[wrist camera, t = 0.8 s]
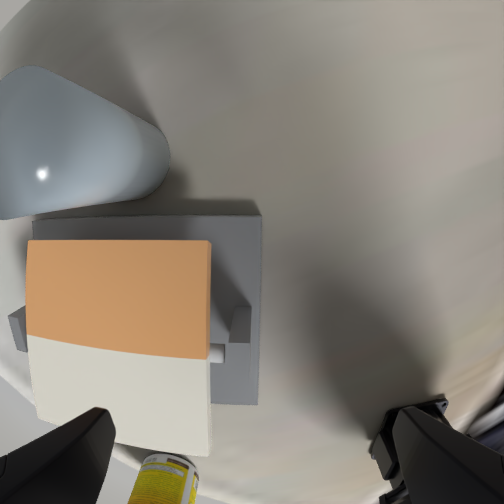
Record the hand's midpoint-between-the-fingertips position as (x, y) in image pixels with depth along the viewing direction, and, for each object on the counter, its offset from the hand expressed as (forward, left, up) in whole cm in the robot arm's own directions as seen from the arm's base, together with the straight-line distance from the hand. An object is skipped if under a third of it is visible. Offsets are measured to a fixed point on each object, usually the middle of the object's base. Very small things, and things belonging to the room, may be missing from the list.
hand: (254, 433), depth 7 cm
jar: (+8, -8, -12) cm, 16 cm away
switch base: (+8, +2, -12) cm, 14 cm away
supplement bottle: (+8, +19, -12) cm, 24 cm away
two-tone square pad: (+8, +2, -8) cm, 11 cm away
